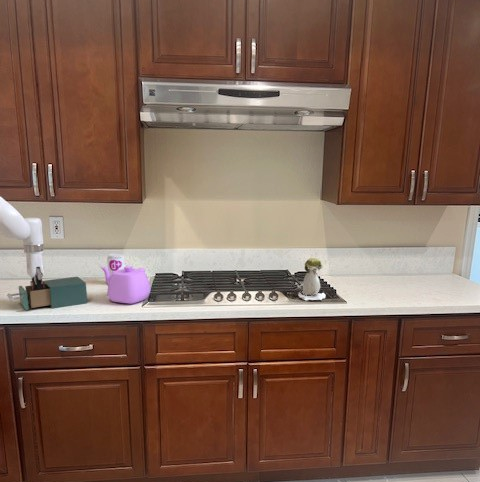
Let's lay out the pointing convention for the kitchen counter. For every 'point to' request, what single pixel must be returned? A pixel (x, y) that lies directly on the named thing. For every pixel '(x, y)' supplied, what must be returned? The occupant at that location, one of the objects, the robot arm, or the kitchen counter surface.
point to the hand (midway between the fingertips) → (38, 291)
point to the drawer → (32, 297)
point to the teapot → (127, 285)
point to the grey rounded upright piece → (312, 281)
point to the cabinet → (67, 292)
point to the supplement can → (115, 262)
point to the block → (33, 285)
